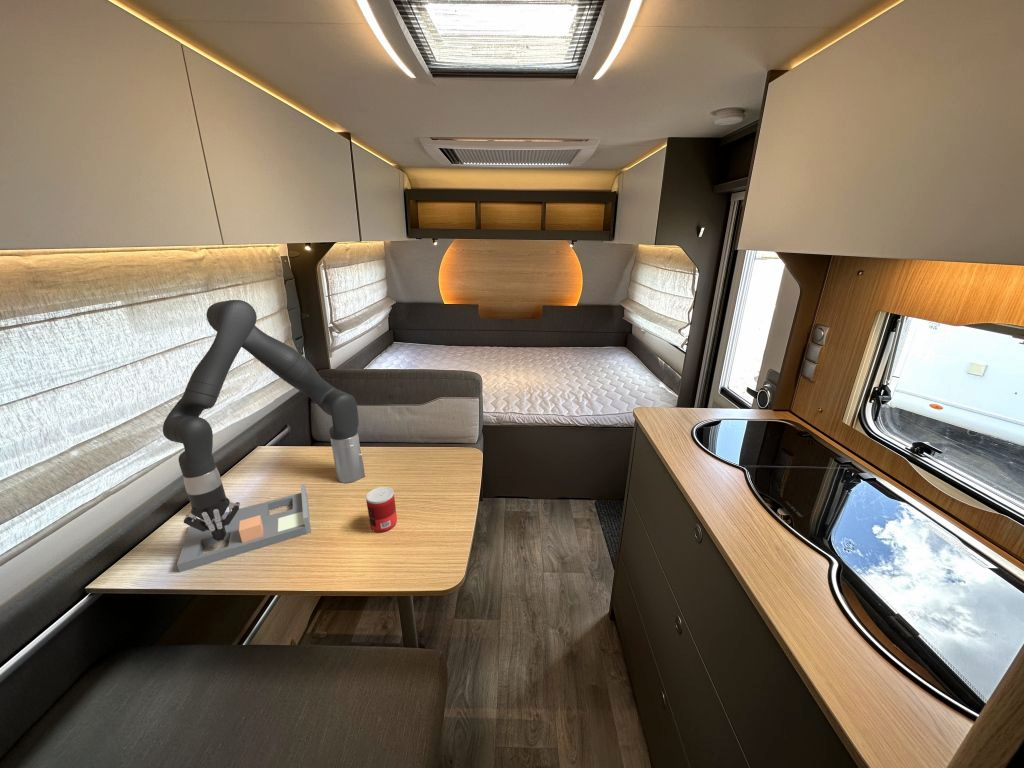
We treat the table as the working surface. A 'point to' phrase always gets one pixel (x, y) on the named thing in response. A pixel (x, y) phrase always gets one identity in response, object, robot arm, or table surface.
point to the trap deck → (273, 532)
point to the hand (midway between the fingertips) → (220, 538)
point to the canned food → (381, 509)
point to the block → (251, 528)
